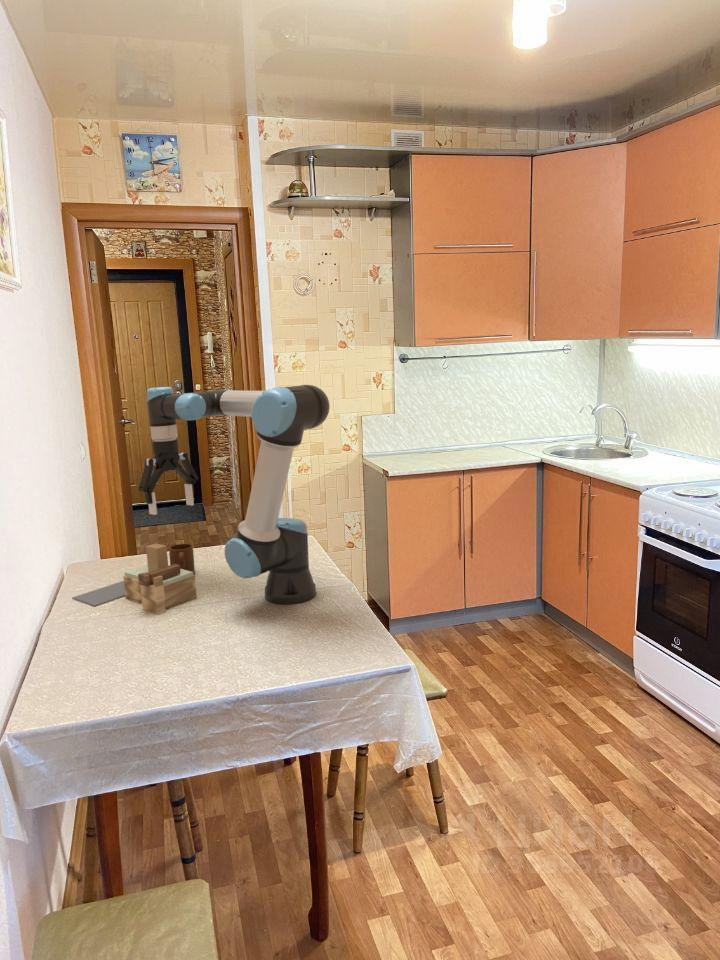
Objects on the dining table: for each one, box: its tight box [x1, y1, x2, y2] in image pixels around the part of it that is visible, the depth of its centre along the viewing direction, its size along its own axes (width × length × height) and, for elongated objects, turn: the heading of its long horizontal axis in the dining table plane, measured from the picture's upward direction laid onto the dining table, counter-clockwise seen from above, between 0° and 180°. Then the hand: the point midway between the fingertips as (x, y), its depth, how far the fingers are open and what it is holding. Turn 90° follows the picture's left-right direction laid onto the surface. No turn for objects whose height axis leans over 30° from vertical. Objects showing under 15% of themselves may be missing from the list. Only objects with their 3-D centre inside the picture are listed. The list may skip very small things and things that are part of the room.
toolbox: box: [122, 572, 198, 615], centre depth 210 cm, size 19×14×10 cm
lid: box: [124, 542, 194, 586], centre depth 210 cm, size 18×11×10 cm, turn 52°
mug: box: [168, 543, 195, 575], centre depth 231 cm, size 12×8×9 cm, turn 15°
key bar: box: [138, 564, 181, 587], centre depth 203 cm, size 3×12×3 cm, turn 142°
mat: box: [71, 580, 125, 608], centre depth 218 cm, size 12×20×1 cm, turn 142°
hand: (172, 509), depth 215 cm, fingers open, 13 cm apart
